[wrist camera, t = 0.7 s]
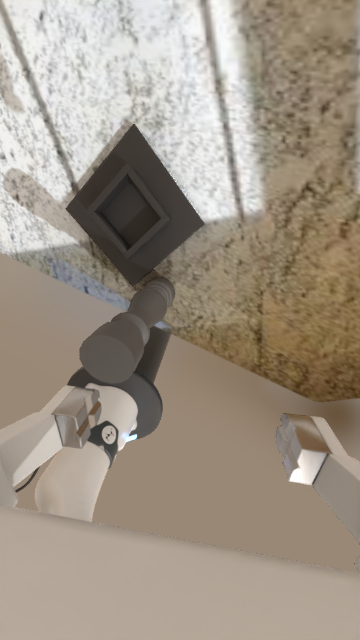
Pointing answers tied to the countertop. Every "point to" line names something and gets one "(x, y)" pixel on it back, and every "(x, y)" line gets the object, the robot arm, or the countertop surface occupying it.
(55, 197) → the countertop surface
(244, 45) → the countertop surface
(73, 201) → the display stand
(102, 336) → the candle holder
